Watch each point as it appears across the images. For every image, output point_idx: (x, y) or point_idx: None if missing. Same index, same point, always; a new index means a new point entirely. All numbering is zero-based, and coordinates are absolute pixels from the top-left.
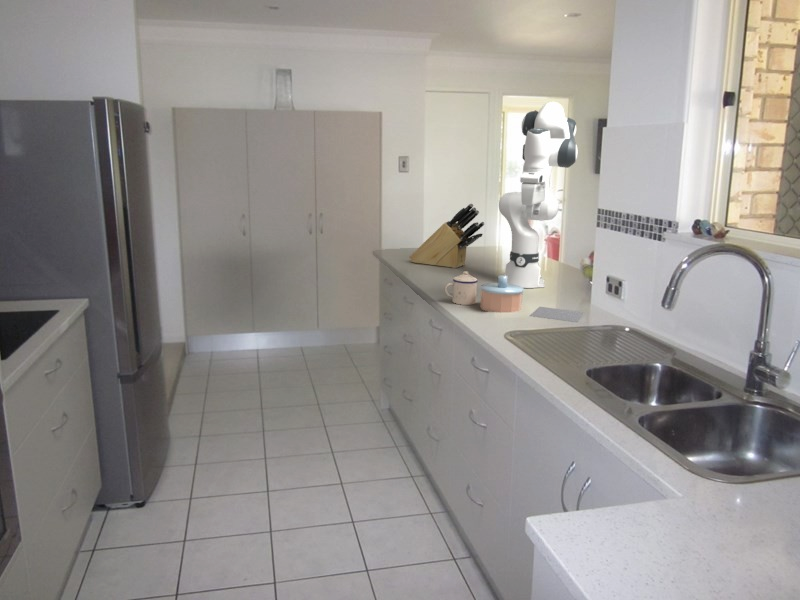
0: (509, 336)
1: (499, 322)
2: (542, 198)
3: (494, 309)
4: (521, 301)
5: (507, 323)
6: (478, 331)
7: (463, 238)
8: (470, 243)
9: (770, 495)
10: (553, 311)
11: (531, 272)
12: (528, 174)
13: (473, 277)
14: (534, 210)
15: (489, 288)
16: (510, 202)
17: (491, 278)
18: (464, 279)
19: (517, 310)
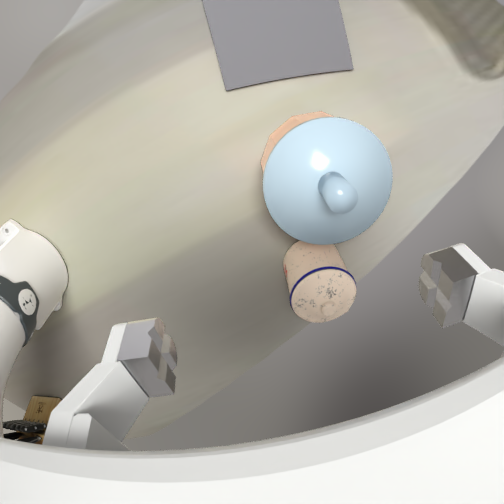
0: (496, 68)
1: (432, 113)
2: (48, 494)
3: None
4: (301, 119)
5: (430, 95)
6: (497, 126)
7: (31, 435)
8: (20, 421)
9: None
10: (256, 35)
11: (18, 260)
12: None
13: (319, 285)
14: (170, 382)
15: (374, 203)
16: None
17: (50, 334)
18: (350, 289)
19: (326, 113)
